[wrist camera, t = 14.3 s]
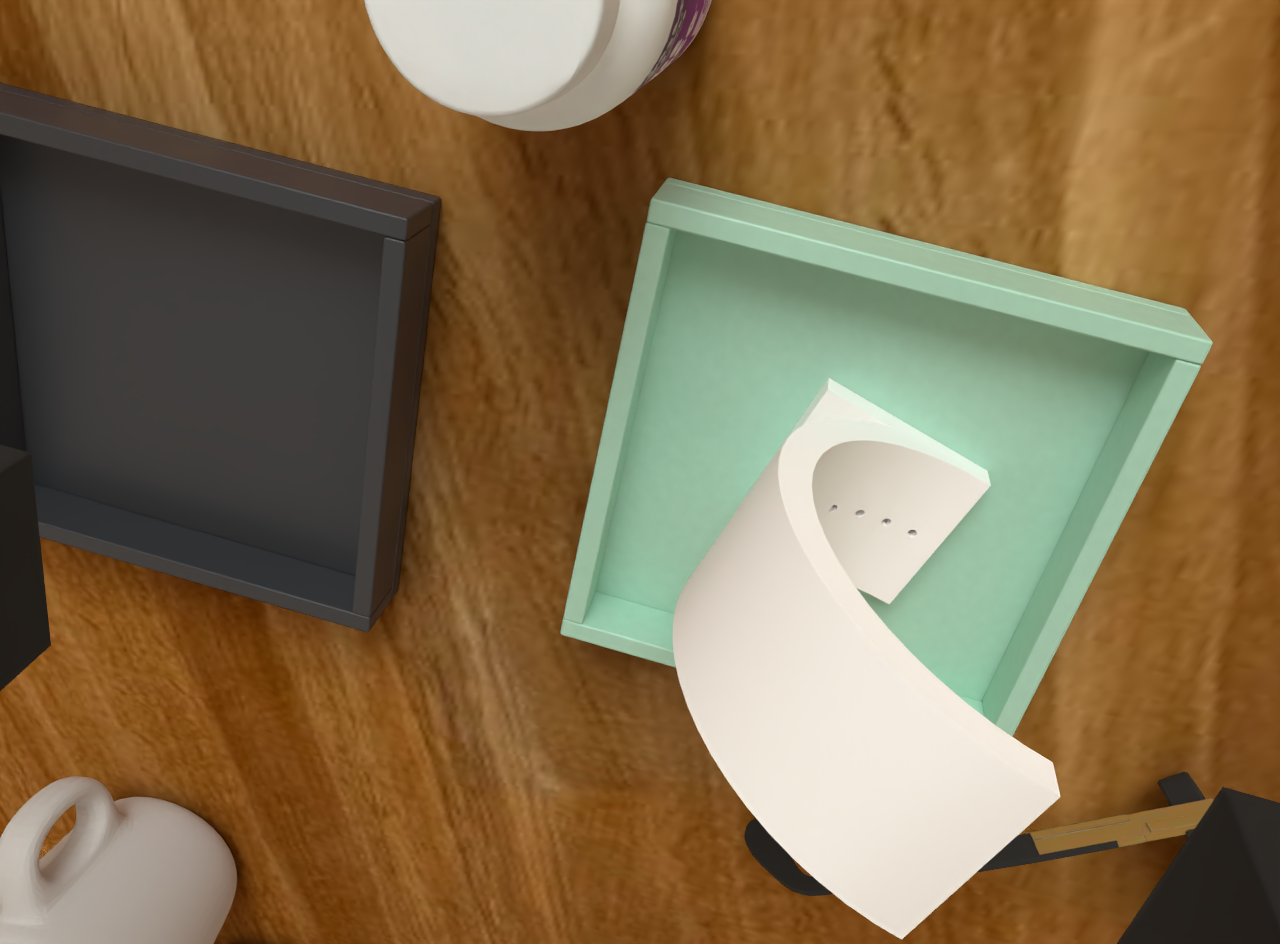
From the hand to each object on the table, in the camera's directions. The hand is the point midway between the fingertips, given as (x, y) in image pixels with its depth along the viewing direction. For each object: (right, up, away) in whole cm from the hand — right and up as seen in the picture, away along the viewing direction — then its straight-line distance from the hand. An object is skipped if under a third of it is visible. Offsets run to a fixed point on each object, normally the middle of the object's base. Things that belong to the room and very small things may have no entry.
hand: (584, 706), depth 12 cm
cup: (-18, -11, +31) cm, 37 cm away
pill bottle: (0, +15, +13) cm, 20 cm away
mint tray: (+6, +3, +18) cm, 19 cm away
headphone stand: (+6, +2, +17) cm, 19 cm away
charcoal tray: (-12, +6, +20) cm, 24 cm away
